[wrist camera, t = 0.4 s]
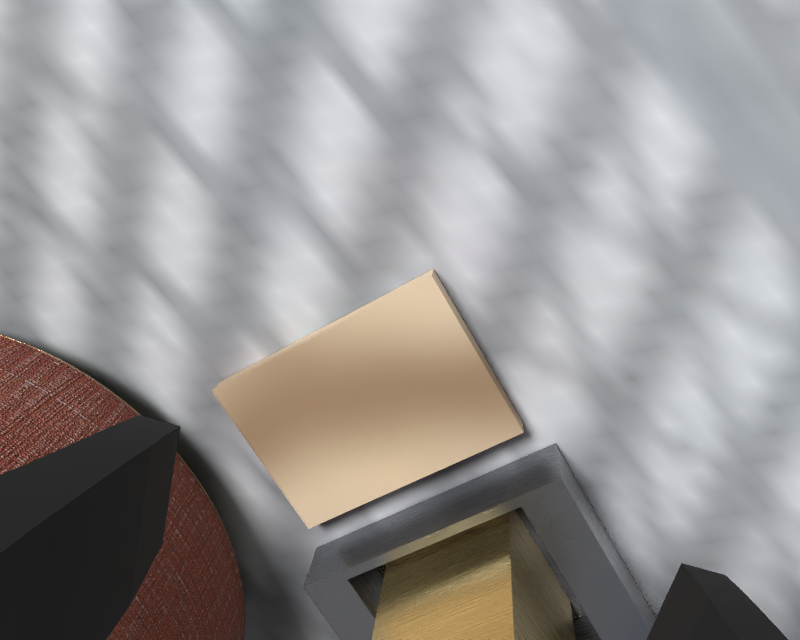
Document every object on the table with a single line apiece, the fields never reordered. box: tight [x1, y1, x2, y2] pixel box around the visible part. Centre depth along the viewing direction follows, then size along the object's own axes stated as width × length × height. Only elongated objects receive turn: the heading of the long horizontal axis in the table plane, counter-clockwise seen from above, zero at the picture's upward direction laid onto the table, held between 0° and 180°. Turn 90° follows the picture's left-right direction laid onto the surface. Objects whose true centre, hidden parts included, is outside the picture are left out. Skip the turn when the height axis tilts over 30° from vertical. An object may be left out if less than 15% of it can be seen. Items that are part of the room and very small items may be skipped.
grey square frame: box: [303, 444, 656, 640], centre depth 22 cm, size 9×8×2 cm
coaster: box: [212, 269, 524, 529], centre depth 21 cm, size 5×7×1 cm
